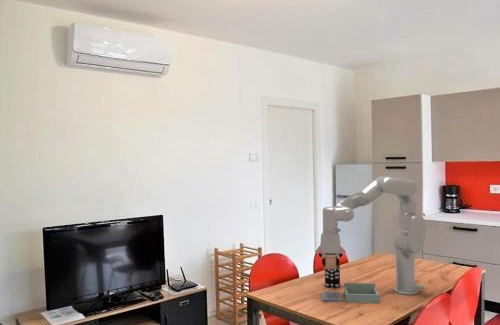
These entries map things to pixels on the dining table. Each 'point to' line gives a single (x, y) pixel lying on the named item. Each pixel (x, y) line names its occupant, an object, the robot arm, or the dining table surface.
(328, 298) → the slate tile
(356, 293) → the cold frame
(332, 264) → the pot
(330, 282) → the spotted tube
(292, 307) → the dining table surface
